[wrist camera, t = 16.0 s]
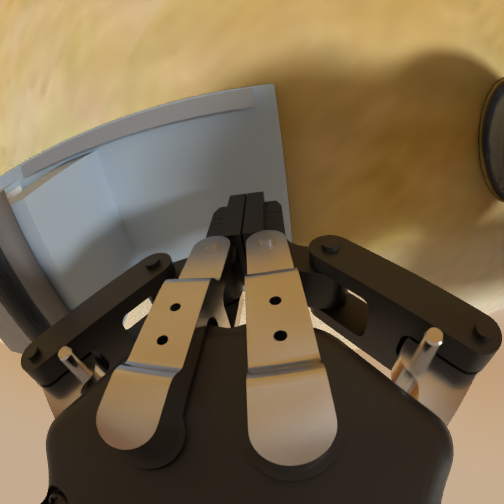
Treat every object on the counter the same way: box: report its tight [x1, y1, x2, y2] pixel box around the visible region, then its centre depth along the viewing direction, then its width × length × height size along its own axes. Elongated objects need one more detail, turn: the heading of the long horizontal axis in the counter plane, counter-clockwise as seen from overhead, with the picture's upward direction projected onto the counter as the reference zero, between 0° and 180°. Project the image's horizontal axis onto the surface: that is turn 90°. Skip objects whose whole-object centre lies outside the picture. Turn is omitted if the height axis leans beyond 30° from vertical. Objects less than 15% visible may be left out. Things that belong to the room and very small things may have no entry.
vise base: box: [0, 84, 292, 298], centre depth 13 cm, size 20×11×7 cm, turn 99°
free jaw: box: [0, 150, 139, 326], centre depth 12 cm, size 3×10×7 cm, turn 9°
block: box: [0, 247, 51, 354], centre depth 12 cm, size 4×6×8 cm, turn 9°
